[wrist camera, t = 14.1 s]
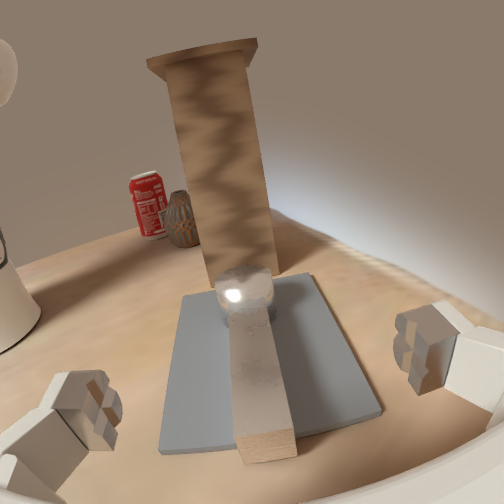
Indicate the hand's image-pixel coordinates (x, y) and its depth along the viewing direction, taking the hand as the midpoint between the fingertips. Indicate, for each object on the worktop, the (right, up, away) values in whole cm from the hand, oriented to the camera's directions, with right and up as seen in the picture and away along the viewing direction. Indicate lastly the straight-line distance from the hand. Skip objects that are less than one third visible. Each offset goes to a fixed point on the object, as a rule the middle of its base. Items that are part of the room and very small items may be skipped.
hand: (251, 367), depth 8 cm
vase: (-10, +4, +45) cm, 46 cm away
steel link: (0, -5, +16) cm, 16 cm away
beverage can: (-18, +6, +52) cm, 55 cm away
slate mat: (0, -5, +18) cm, 19 cm away
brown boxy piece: (-1, +2, +34) cm, 34 cm away
